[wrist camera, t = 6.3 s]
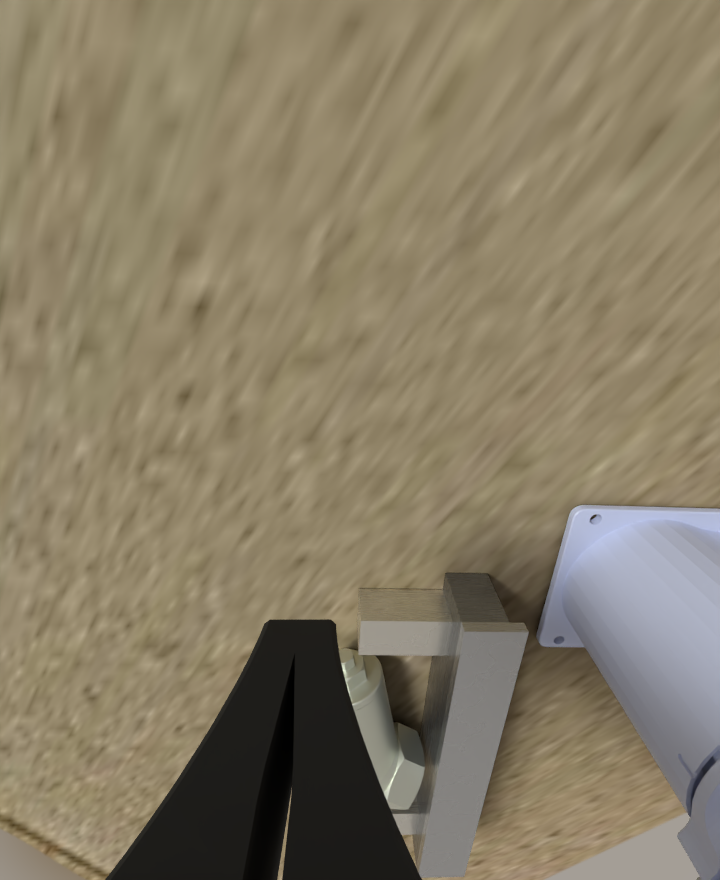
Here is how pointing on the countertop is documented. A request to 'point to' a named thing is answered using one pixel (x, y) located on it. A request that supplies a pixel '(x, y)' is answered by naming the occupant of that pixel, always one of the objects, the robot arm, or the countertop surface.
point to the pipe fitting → (383, 730)
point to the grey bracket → (449, 702)
